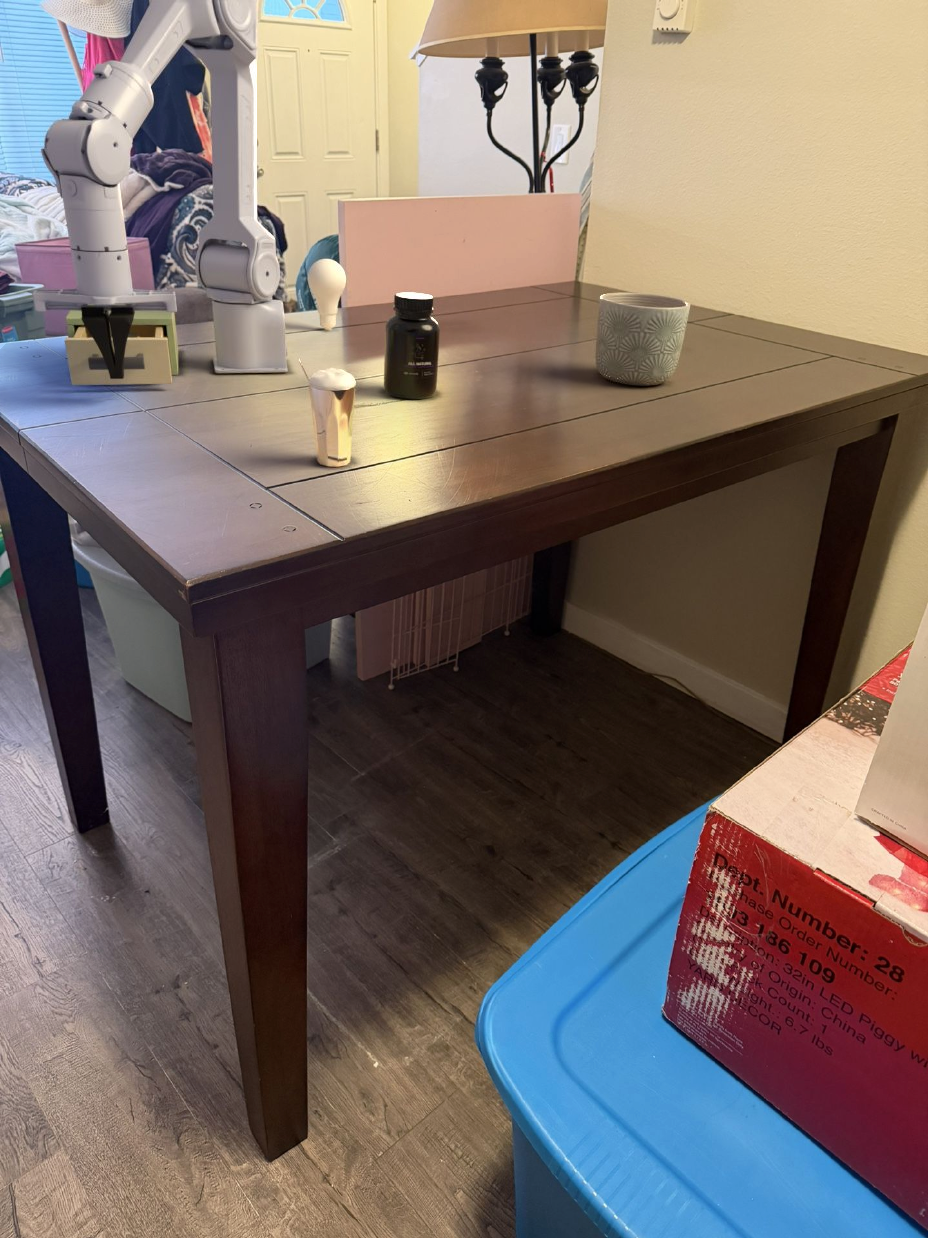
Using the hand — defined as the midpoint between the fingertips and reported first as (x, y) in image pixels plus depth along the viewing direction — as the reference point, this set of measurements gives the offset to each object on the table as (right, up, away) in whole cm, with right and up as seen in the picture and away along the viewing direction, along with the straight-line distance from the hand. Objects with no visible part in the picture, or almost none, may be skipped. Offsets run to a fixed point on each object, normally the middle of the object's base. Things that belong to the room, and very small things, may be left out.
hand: (117, 376), depth 100 cm
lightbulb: (+17, +20, +45) cm, 52 cm away
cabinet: (-6, +7, +19) cm, 21 cm away
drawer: (-3, +3, +9) cm, 10 cm away
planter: (+64, +7, +26) cm, 69 cm away
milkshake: (+26, -12, -12) cm, 31 cm away
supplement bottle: (+33, +1, +13) cm, 35 cm away
